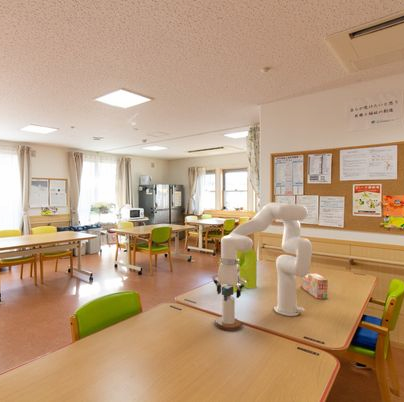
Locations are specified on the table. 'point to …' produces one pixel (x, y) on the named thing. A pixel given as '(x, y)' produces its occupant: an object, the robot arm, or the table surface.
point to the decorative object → (248, 269)
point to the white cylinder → (228, 309)
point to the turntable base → (228, 328)
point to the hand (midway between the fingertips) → (228, 295)
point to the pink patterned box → (315, 285)
